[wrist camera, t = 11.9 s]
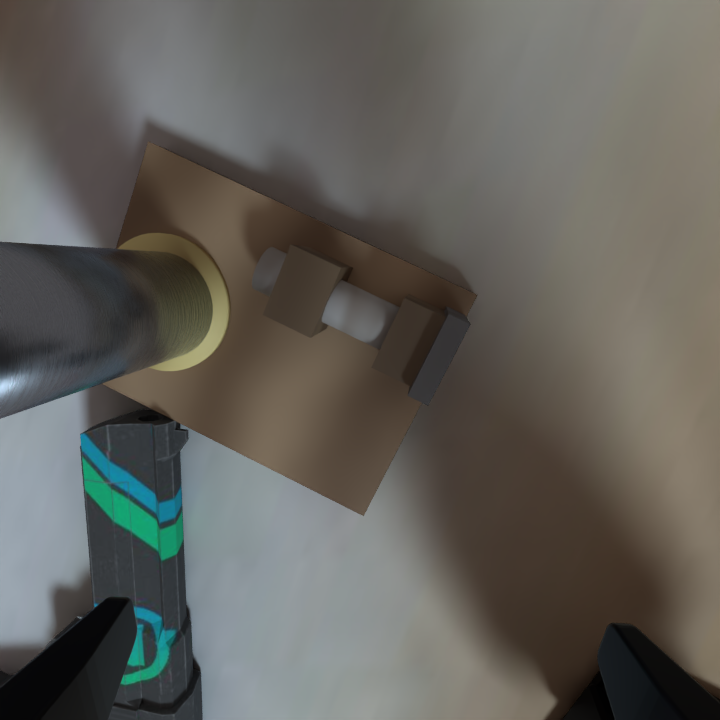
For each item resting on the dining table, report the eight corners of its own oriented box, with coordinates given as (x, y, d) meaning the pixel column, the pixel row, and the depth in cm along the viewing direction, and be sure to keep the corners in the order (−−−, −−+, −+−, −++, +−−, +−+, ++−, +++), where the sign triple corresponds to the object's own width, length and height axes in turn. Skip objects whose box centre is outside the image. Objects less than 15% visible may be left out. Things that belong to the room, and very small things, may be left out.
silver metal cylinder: (205, 247, 19) (-22, 227, 10) (218, 355, 20) (21, 435, 11) (107, 255, 20) (-195, 243, 10) (123, 359, 21) (-142, 437, 11)
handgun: (-47, 823, 27) (185, 894, 25) (-115, 404, 23) (163, 434, 20) (9, 760, 31) (218, 816, 28) (-39, 387, 26) (206, 410, 23)
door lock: (474, 293, 20) (485, 301, 15) (367, 502, 22) (351, 558, 18) (164, 148, 20) (93, 117, 16) (96, 367, 23) (20, 389, 19)
